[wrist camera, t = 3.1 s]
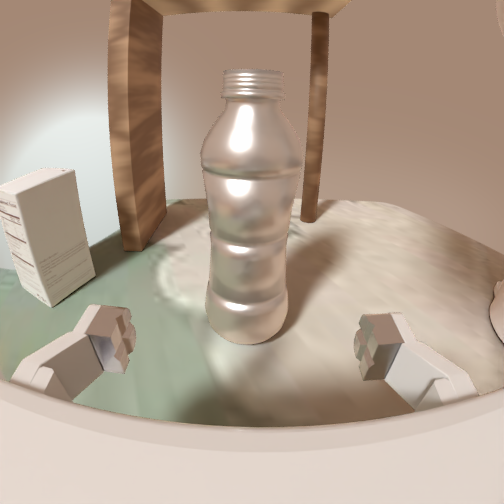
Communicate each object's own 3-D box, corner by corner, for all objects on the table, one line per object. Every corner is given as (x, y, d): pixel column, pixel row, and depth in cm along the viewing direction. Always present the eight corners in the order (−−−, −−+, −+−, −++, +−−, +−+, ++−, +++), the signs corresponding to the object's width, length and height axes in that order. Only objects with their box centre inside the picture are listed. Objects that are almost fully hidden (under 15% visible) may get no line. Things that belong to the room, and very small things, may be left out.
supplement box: (64, 261, 35) (44, 166, 29) (97, 276, 32) (76, 167, 26) (21, 288, 29) (-8, 187, 23) (50, 310, 26) (14, 192, 20)
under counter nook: (318, 216, 49) (331, 4, 32) (337, 256, 38) (358, -24, 21) (152, 212, 49) (148, 4, 32) (124, 250, 37) (113, -20, 21)
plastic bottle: (213, 302, 29) (208, 75, 20) (285, 307, 29) (303, 77, 19) (200, 351, 24) (184, 68, 14) (286, 357, 23) (314, 70, 14)
